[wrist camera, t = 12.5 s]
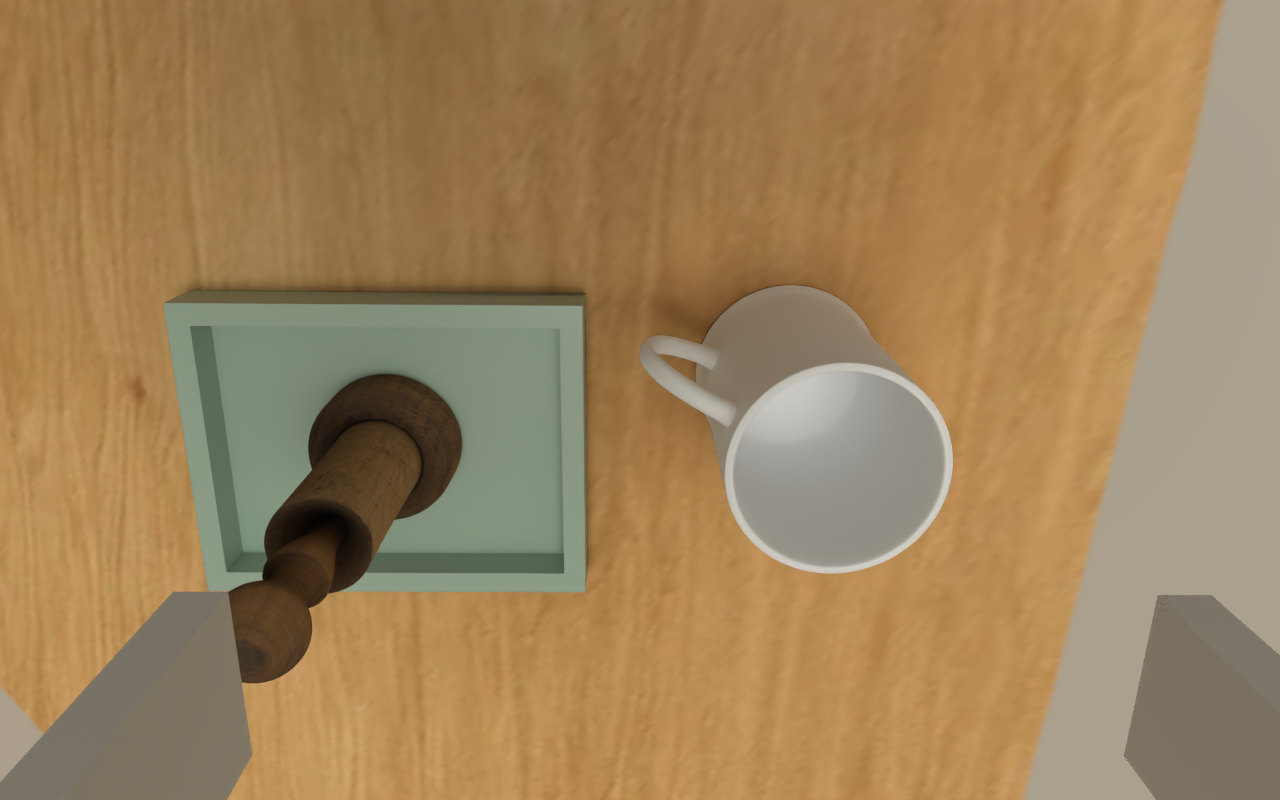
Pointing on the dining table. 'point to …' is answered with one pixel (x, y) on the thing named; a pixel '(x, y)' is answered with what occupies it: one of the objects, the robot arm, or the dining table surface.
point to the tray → (426, 352)
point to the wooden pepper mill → (343, 511)
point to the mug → (813, 429)
